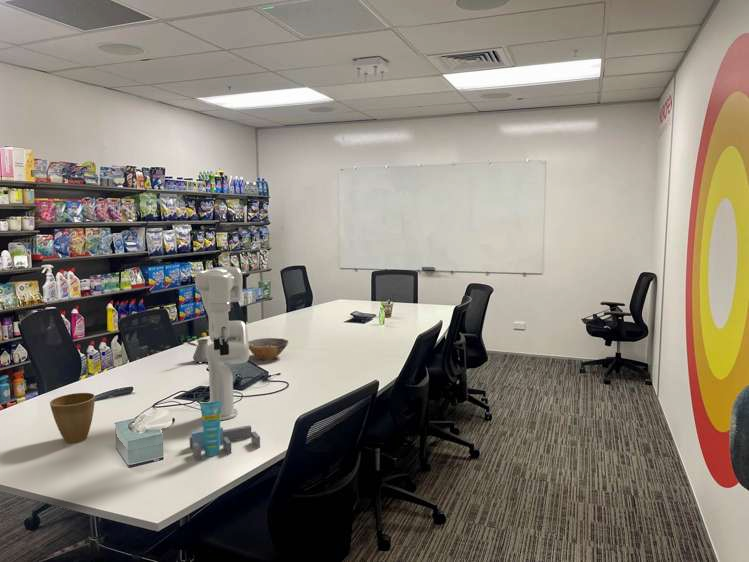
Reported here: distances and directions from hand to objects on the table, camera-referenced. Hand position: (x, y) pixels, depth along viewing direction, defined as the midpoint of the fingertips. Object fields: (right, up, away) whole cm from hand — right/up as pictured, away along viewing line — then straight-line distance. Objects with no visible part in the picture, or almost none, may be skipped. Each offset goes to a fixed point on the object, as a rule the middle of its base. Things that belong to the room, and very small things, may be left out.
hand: (221, 352), depth 205 cm
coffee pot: (-44, -21, +110) cm, 121 cm away
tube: (0, -35, -11) cm, 37 cm away
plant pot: (-56, -34, +2) cm, 65 cm away
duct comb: (+3, -34, -5) cm, 35 cm away
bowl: (-7, -20, +123) cm, 124 cm away
